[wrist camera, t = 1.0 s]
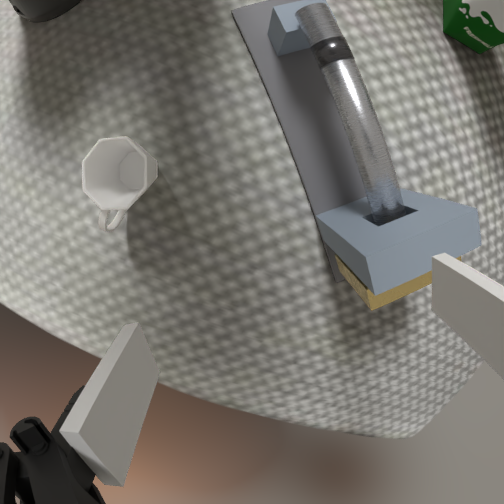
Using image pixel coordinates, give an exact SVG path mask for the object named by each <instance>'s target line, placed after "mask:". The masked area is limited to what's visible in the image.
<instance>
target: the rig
mask: <svg viewBox="0 0 504 504" xmlns="http://www.w3.org/2000/svg"><path fill="white" fill-rule="evenodd" d="M313 3H325V4H327V2H326V0H267V1H263V2H259V3H255V4H252V5H248V6H245V7H241V8H238V9H235V10H231V12H232V15H233V17H234V19H235V21H236V23H237V26H238V28H239V30H240V32H241V34H242V36H243V38H244V40H245V43H246V45H247V47H248V49H249V51H250V54H251V56H252V58H253V60H254V62H255V65H256V67H257V69H258V72H259V74H260V76H261V78H262V81H263V83H264V85H265V88H266V90H267V92H268V95H269V97H270V100H271V102H272V104H273V107H274V109H275V112H276V114H277V117H278V119H279V122H280V124H281V127H282V129H283V132H284V134H285V137H286V139H287V142H288V145H289V147H290V150H291V152H292V155H293V158H294V160H295V163H296V166H297V168H298V171H299V174H300V177H301V179H302V182H303V185H304V188H305V191H306V193H307V196H308V199H309V202H310V205H311V208H312V211H313V213H314V216H315V219H316V222H317V225H318V228H319V231H320V234H321V237H322V240H323V244H324V247H325V250H326V253H327V256H328V259H329V262H330V266H331V269H332V272H333V275H334V279H335V281H336V282H337V283H338V282H340V281H343V280H345V277H344V276H343V275H342V274H341V272H340V271H339V268H338V264H337V261H336V258H335V254H337V255H338V256H339V257H340V258H341V259H342V260H343V261H344V263H345V264H346V265H347V266H348V267H349V268H350V269H351V270H352V271H353V272H354V273H355V274H356V275H357V277H358V278H359V279H360V280H361V281H362V282H363V283H364V284H365V285H366V286H367V287H368V289H369V290H370V291H371V292H372V293H373V294H374V295H375V296H376V295H378V294H381V293H383V292H385V291H387V290H390V289H392V288H394V287H397V286H399V285H401V284H403V283H405V282H408V281H410V280H412V279H414V278H416V277H418V276H421V275H423V274H425V273H427V272H429V271H431V270H432V256H435V255H438V254H442V253H446V254H448V255H450V256H452V257H454V258H458V257H459V256H461V255H463V254H465V253H467V252H469V251H471V250H473V249H475V248H477V247H479V246H481V235H480V226H479V219H478V212H477V208H474V207H470V206H467V205H463V204H460V203H456V202H452V201H449V200H445V199H441V198H437V197H433V196H430V195H426V194H422V193H417V192H413V191H409V190H405V189H401V188H400V192H401V195H402V199H403V203H404V207H405V212H406V216H404V217H401V218H399V219H396V220H394V221H391V222H389V223H386V224H384V225H381V226H379V227H378V226H377V225H375V223H374V220H373V216H372V213H371V209H370V205H369V202H368V199H367V195H366V192H365V188H364V185H363V182H362V179H361V176H360V172H359V169H358V166H357V163H356V160H355V157H354V154H353V151H352V148H351V145H350V143H349V140H348V137H347V134H346V131H345V129H344V126H343V123H342V121H341V118H340V115H339V113H338V110H337V108H336V105H335V103H334V100H333V98H332V95H331V93H330V90H329V88H328V85H327V83H326V81H325V78H324V76H323V74H322V71H321V70H320V68H319V66H318V64H317V62H316V59H315V57H314V55H313V53H312V51H311V47H310V45H309V43H308V41H307V39H306V37H305V35H304V33H303V31H302V29H301V27H300V25H299V23H298V21H297V19H296V17H295V13H296V12H297V11H298V10H299V9H301V8H302V7H304V6H307V5H309V4H313ZM327 6H328V4H327ZM328 7H329V6H328ZM329 9H330V8H329ZM330 11H331V9H330ZM331 13H332V11H331ZM332 15H333V13H332ZM333 17H334V15H333ZM334 19H335V17H334ZM335 21H336V19H335ZM336 22H337V21H336Z"/></svg>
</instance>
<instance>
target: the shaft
mask: <svg viewBox="0 0 504 504" xmlns="http://www.w3.org/2000/svg"><path fill="white" fill-rule="evenodd" d="M295 17H296V19H297V21H298V23H299V25H300V27H301V29H302V31H303V33H304V35H305V37H306V39H307V41H308V43H309V45H310V47H311V51H312V53H313V55H314V57H315V59H316V62H317V64H318V66H319V68H320V70H321V71H322V74H323V76H324V78H325V81H326V83H327V85H328V88H329V90H330V93H331V95H332V98H333V100H334V103H335V105H336V108H337V110H338V113H339V115H340V118H341V121H342V123H343V126H344V129H345V131H346V134H347V137H348V140H349V143H350V145H351V148H352V151H353V154H354V157H355V160H356V163H357V166H358V169H359V172H360V176H361V179H362V182H363V185H364V188H365V192H366V195H367V199H368V202H369V205H370V209H371V213H372V216H373V220H374V223H375V225H377V226H378V227H379V226H381V225H384V224H386V223H389V222H391V221H394V220H396V219H399V218H401V217H404V216H406V212H405V207H404V203H403V199H402V195H401V192H400V188H399V184H398V180H397V177H396V173H395V170H394V166H393V163H392V160H391V156H390V153H389V150H388V147H387V144H386V141H385V138H384V135H383V132H382V129H381V126H380V123H379V120H378V117H377V115H376V112H375V109H374V107H373V104H372V101H371V99H370V96H369V94H368V91H367V89H366V86H365V84H364V81H363V79H362V76H361V74H360V72H359V69H358V67H357V65H356V62H355V60H354V57H353V54H352V52H351V50H350V48H349V46H348V44H347V42H346V39H345V37H343V35H342V33H341V31H340V29H339V27H338V25H337V23H336V21H335V19H334V17H333V15H332V13H331V11H330V9H329V7H328V6H327V4H325V3H313V4H309V5H307V6H304V7H302V8H301V9H299V10H298V11H297V12H296V13H295Z"/></svg>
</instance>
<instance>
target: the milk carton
mask: <svg viewBox="0 0 504 504" xmlns="http://www.w3.org/2000/svg"><path fill="white" fill-rule="evenodd" d="M443 32H444V33H446V34H447V35H449V36H451V37H453V38H454V39H456V40H458V41H459V42H461V43H463V44H464V45H466V46H468V47H469V48H471V49H472V50H474V51H475V52H477V53H478V54H481V53H483V52H485V51H487V50H489V49H491V48H493V47H495V46H497V45H500V44H503V43H504V0H443Z"/></svg>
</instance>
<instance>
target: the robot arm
mask: <svg viewBox="0 0 504 504" xmlns="http://www.w3.org/2000/svg"><path fill="white" fill-rule="evenodd" d="M9 1H10V3H11V4H12V5H13V8H14V10H15V11H16V13H17V14H18V15H20V16H21V17H23V18H25V19H27V20H29V21H32V22H42V21H47V20H50V19H53V18H55V17H57V16H59V15H61V14H63V13H65V12H66V11H68V10H69V9H71V8H72V7H74V6H75V5H76V4H78V3H79V2H80V1H81V0H9ZM431 310H432V311H433V312H434V313H435V314H436V315H437V316H438V317H439V318H440V319H442V320H443V321H444V322H445V323H446V324H447V325H448V326H449V327H450V328H451V329H452V330H453V331H454V332H456V333H457V334H458V335H459V336H460V337H461V338H462V339H463V340H464V341H465V342H466V343H467V344H468V345H469V346H470V347H471V348H472V349H473V350H474V351H475V352H476V353H477V354H478V355H479V356H480V357H481V358H482V359H483V360H484V361H485V362H487V364H489V366H490V367H492V369H493V370H494V371H495V372H497V374H498V375H499V376H500V377H501V378H502V379H503V380H504V286H502V285H500V284H499V283H497V282H495V281H494V280H492V279H490V278H489V277H487V276H485V275H484V274H482V273H480V272H479V271H477V270H475V269H473V268H472V267H470V266H468V265H466V264H464V263H463V262H461V261H459V260H457V259H456V258H454V257H452V256H450V255H448V254H446V253H442V254H438V255H435V256H432V306H431ZM159 375H160V370H159V368H158V365H157V363H156V361H155V359H154V356H153V354H152V352H151V349H150V347H149V345H148V342H147V340H146V338H145V335H144V333H143V330H142V328H141V326H140V323H139V322H137V323H131V324H125V325H124V326H123V327H122V329H121V330H120V332H119V333H118V335H117V336H116V338H115V339H114V341H113V343H112V344H111V346H110V347H109V349H108V350H107V352H106V353H105V355H104V357H103V358H102V360H101V361H100V363H99V365H98V366H97V368H96V370H95V371H94V373H93V374H92V376H91V378H90V379H89V381H88V383H87V384H86V386H82V387H81V388H80V389H79V390H78V391H77V392H76V393H74V395H73V396H72V398H71V400H70V401H69V405H67V406H66V408H65V409H64V412H63V413H62V414H61V416H60V418H59V419H58V421H57V423H56V425H55V426H54V428H53V430H52V431H51V433H50V432H49V431H48V430H47V428H46V427H45V426H44V424H43V423H42V422H41V420H40V419H39V418H37V417H27V418H24V419H22V420H21V421H19V422H18V423H17V424H16V425H15V426H14V427H13V428H12V430H11V433H10V438H11V439H12V440H13V442H14V443H15V444H16V445H17V447H18V448H19V449H20V450H21V452H13V451H12V449H11V448H10V447H9V446H8V445H7V444H6V443H0V504H17V503H16V501H15V495H16V496H17V497H18V498H19V499H20V504H106V503H105V502H104V500H103V498H102V496H101V494H100V492H99V490H98V488H97V487H96V486H95V485H94V484H93V480H94V477H95V475H96V476H97V477H98V478H99V479H100V481H101V482H102V483H104V485H113V486H124V483H125V479H126V476H127V473H128V469H129V466H130V463H131V460H132V456H133V453H134V450H135V447H136V443H137V441H138V438H139V434H140V431H141V428H142V425H143V422H144V419H145V416H146V413H147V410H148V407H149V404H150V401H151V398H152V395H153V392H154V390H155V386H156V384H157V381H158V378H159Z"/></svg>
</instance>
